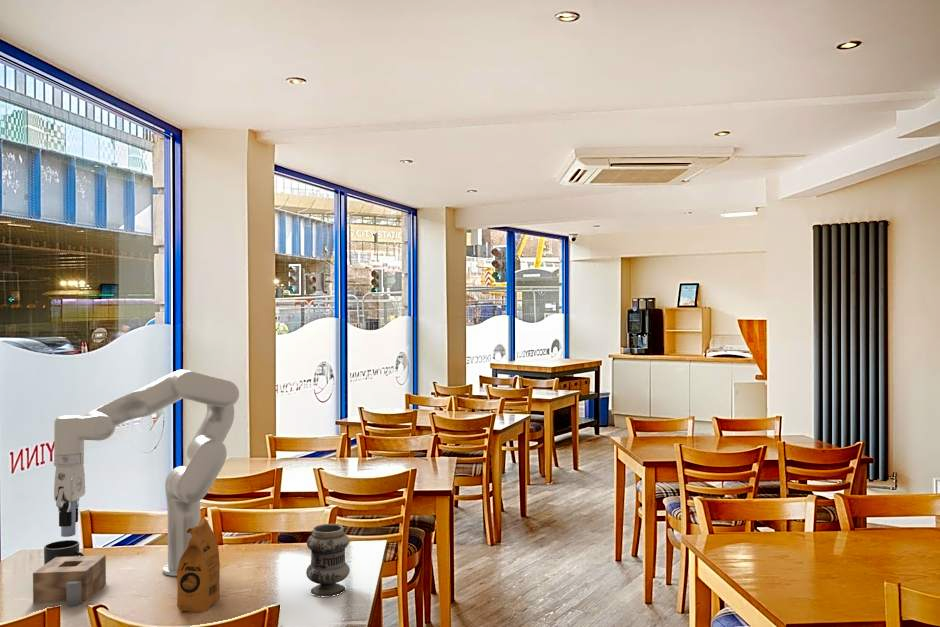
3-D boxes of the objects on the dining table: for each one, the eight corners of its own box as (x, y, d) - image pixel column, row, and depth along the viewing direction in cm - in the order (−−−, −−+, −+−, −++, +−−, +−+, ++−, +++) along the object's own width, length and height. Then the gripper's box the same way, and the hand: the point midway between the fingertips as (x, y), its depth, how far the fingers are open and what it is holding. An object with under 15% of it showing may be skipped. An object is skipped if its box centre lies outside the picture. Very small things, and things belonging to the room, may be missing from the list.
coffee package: (170, 613, 202) (169, 529, 202) (190, 596, 214) (189, 517, 214) (207, 613, 201) (206, 529, 201) (225, 596, 213) (224, 517, 213)
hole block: (105, 582, 226) (105, 555, 226) (86, 600, 212) (86, 571, 212) (56, 584, 224) (55, 557, 224) (33, 602, 210) (32, 573, 210)
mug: (74, 580, 228) (74, 549, 228) (37, 579, 229) (36, 548, 229) (93, 569, 237) (93, 540, 237) (57, 568, 239) (57, 539, 239)
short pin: (83, 601, 210) (83, 579, 210) (78, 606, 207) (77, 584, 207) (70, 602, 210) (69, 580, 210) (64, 607, 207) (64, 585, 207)
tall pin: (77, 533, 220) (78, 484, 220) (72, 536, 216) (72, 486, 216) (64, 533, 219) (64, 484, 220) (58, 537, 216) (59, 487, 216)
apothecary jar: (336, 601, 209) (335, 535, 209) (297, 596, 213) (297, 531, 213) (357, 586, 220) (356, 523, 220) (321, 581, 224) (320, 520, 224)
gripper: (70, 464, 210) (69, 531, 210) (94, 454, 227) (94, 516, 226) (41, 465, 209) (41, 532, 209) (68, 454, 226) (67, 517, 226)
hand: (68, 523), depth 218 cm, fingers closed on tall pin, 3 cm apart
